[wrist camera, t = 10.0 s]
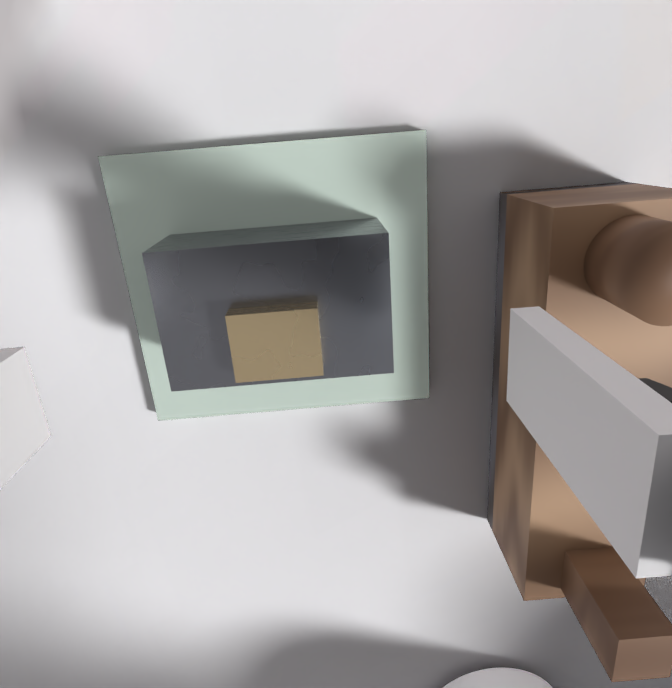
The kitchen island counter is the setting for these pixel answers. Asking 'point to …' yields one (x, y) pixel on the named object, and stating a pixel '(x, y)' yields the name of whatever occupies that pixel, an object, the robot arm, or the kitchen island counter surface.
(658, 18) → the kitchen island counter surface
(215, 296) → the dark grey rectangular block
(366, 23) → the kitchen island counter surface
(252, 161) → the mat
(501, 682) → the beverage can
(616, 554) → the hand plane
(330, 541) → the kitchen island counter surface
